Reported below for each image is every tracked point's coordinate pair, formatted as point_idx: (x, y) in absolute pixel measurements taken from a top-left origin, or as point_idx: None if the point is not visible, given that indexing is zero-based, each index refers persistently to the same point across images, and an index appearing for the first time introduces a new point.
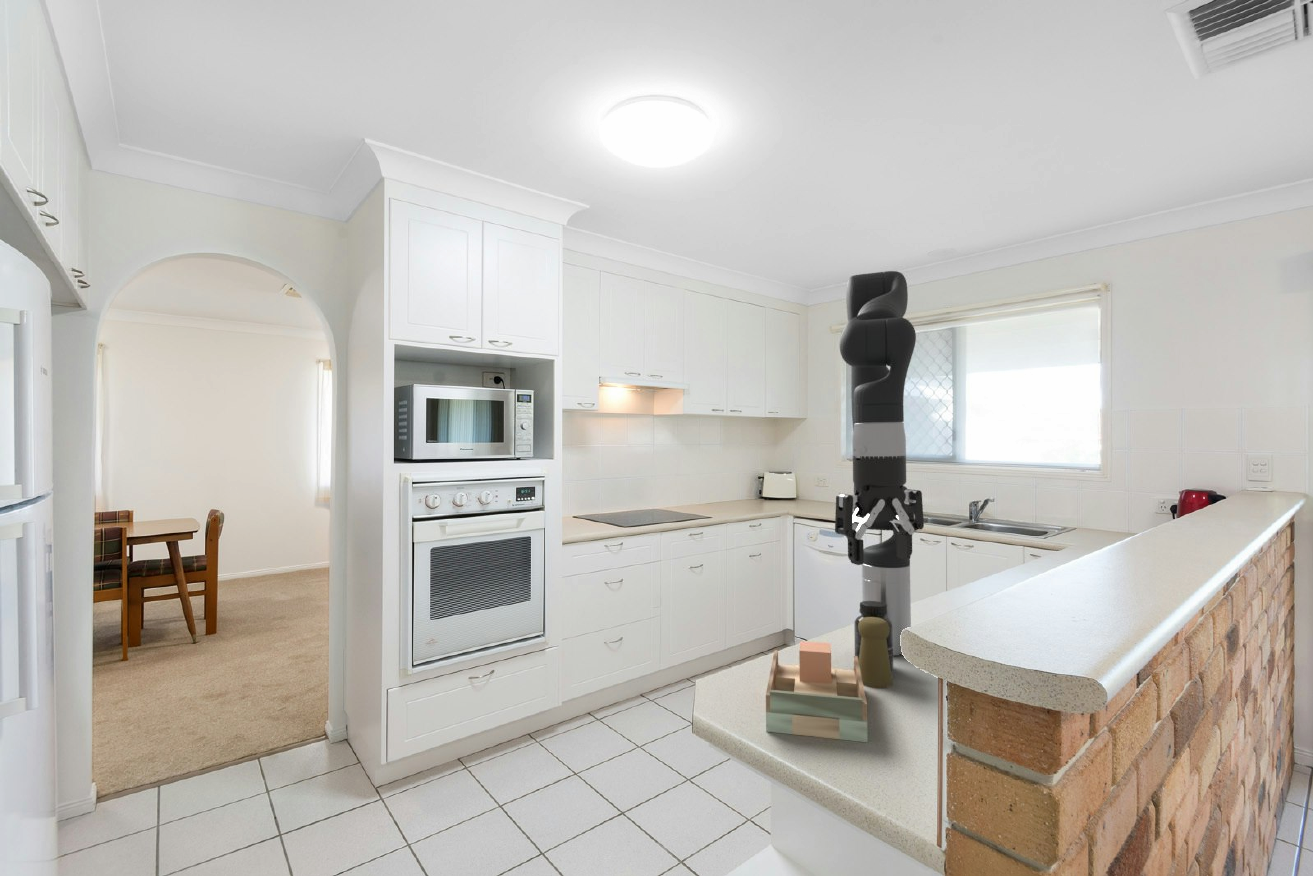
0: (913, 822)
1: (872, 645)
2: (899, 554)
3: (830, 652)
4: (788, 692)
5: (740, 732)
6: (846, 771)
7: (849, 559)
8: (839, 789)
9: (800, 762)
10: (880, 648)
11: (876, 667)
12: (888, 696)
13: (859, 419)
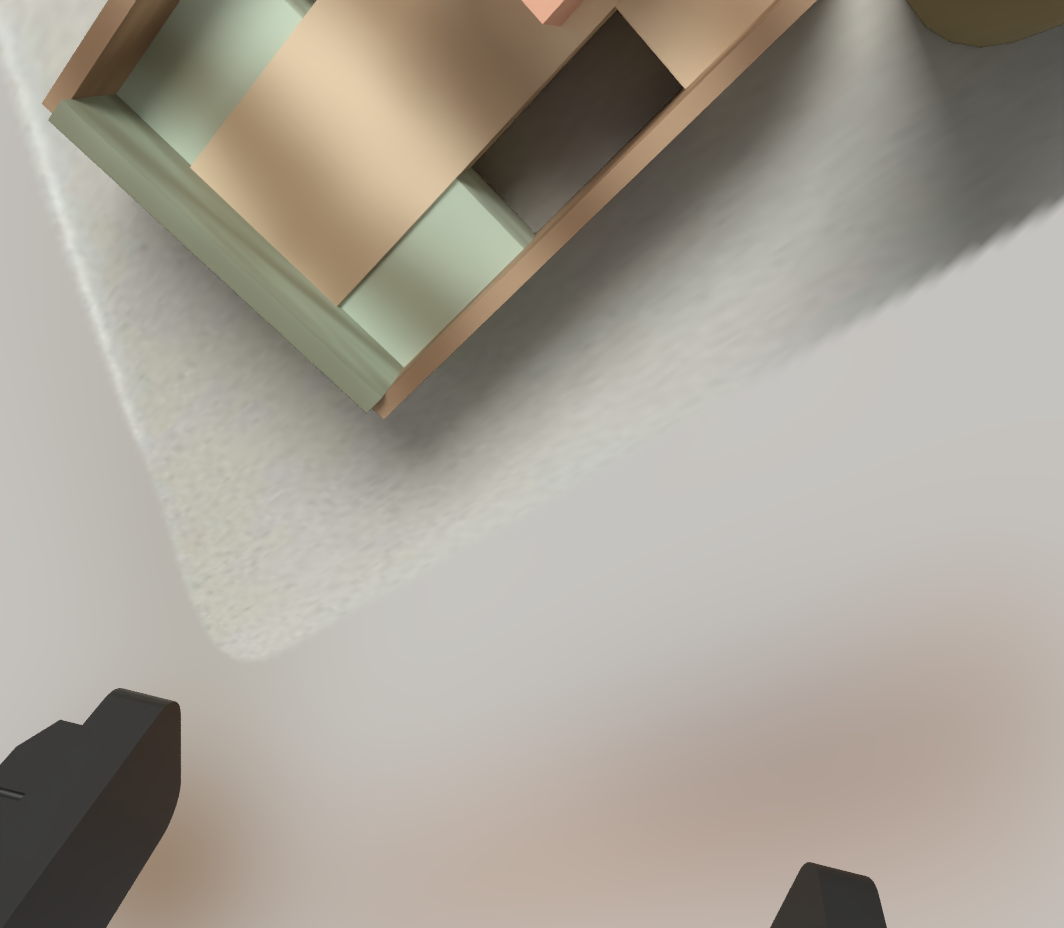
0: (230, 652)
1: None
2: (799, 921)
3: (545, 14)
4: (125, 176)
5: (35, 36)
6: (233, 442)
7: (57, 728)
8: (157, 488)
9: (135, 333)
10: (1047, 5)
11: (967, 4)
12: (861, 132)
13: None
